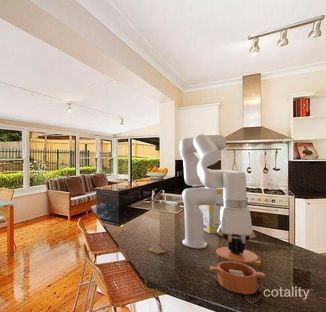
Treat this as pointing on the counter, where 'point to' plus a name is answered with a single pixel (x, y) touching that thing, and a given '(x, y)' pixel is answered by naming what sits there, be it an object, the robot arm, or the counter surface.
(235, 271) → the block
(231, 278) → the pan
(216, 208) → the pasta box
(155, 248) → the shard
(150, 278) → the counter surface
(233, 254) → the lid
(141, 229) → the counter surface
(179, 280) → the counter surface
